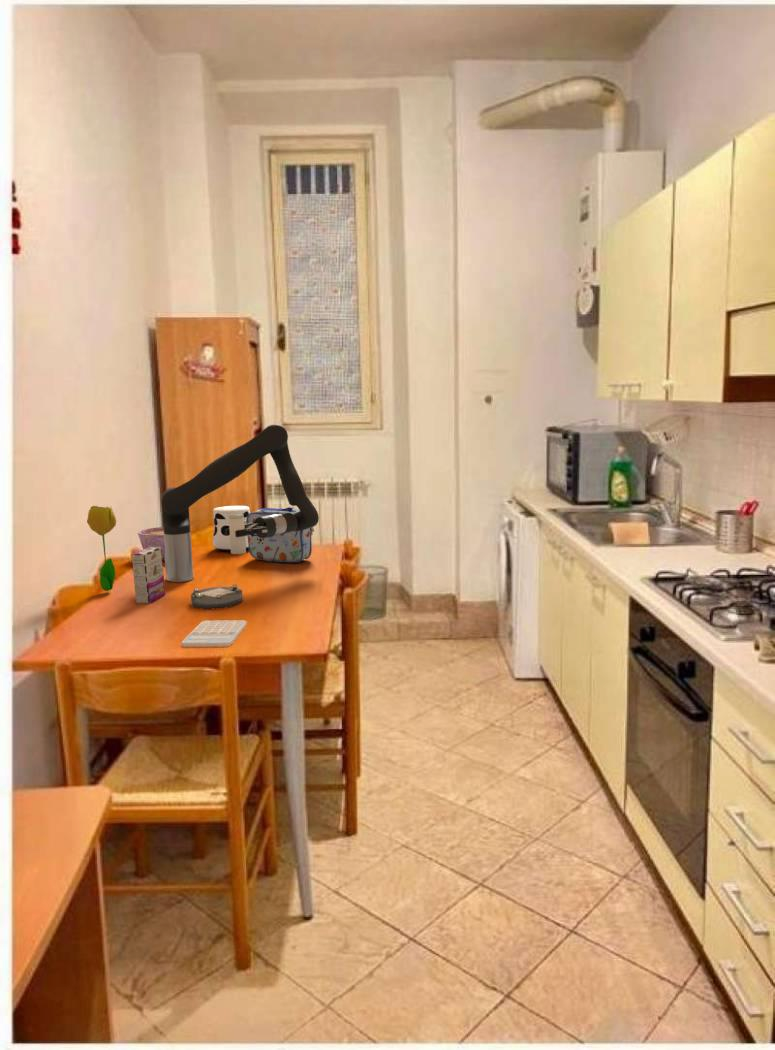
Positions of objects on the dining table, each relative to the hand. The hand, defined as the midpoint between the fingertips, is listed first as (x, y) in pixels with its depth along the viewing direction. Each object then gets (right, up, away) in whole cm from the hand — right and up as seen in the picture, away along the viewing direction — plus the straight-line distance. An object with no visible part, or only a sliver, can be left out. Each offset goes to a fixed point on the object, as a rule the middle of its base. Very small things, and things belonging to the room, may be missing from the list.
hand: (231, 533), depth 254 cm
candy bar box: (-25, -22, -4) cm, 34 cm away
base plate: (-2, -22, -10) cm, 24 cm away
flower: (-43, -21, +6) cm, 48 cm away
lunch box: (+10, -12, +50) cm, 52 cm away
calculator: (+5, -28, -44) cm, 52 cm away
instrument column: (+2, -7, +3) cm, 7 cm away
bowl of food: (-39, -11, +60) cm, 73 cm away
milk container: (-14, -8, +75) cm, 77 cm away
